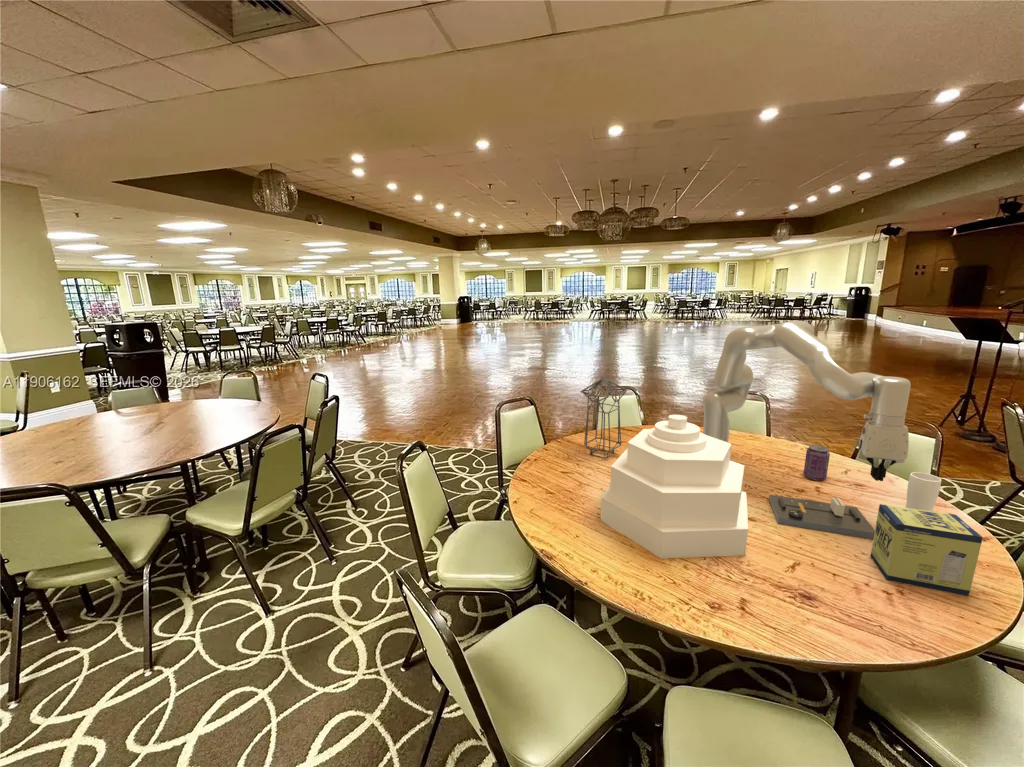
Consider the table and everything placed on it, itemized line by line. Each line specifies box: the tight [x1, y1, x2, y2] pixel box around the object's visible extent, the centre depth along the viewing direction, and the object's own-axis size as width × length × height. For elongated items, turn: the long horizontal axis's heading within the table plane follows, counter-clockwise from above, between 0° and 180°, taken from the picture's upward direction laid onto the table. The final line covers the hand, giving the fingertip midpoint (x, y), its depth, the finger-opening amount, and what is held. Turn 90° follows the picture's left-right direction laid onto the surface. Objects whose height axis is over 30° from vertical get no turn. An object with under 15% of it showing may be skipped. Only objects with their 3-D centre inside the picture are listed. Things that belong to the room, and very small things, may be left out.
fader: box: [830, 497, 846, 516], centre depth 128 cm, size 2×5×4 cm, turn 157°
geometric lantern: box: [580, 377, 628, 459], centre depth 180 cm, size 16×16×35 cm
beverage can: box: [803, 444, 831, 481], centre depth 156 cm, size 7×7×12 cm
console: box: [768, 494, 875, 540], centre depth 129 cm, size 24×16×3 cm, turn 67°
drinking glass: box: [905, 471, 942, 512], centre depth 124 cm, size 7×7×15 cm
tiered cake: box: [600, 414, 749, 559], centre depth 127 cm, size 44×45×34 cm
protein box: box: [870, 503, 984, 597], centre depth 101 cm, size 10×16×16 cm
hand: (877, 478), depth 122 cm, fingers closed
